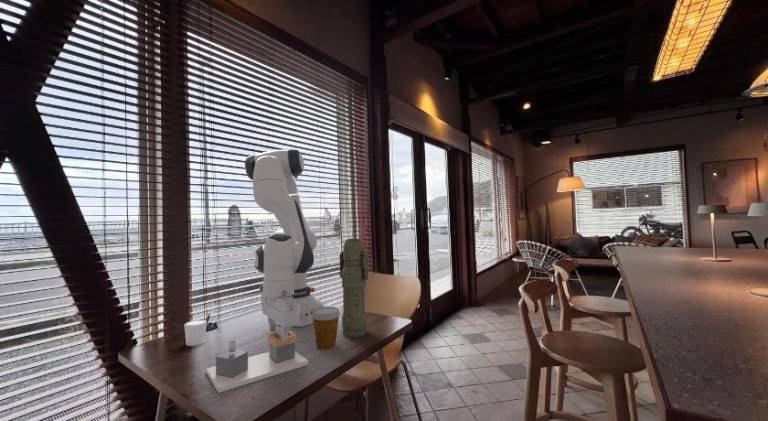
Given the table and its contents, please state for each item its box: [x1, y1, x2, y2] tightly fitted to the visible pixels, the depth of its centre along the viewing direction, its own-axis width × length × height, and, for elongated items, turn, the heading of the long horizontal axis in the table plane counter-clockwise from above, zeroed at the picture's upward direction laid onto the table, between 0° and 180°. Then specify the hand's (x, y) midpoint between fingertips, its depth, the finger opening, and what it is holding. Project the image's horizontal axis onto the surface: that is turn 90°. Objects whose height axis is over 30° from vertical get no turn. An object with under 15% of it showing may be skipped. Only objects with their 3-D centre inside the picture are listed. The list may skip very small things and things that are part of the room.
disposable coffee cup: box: [311, 306, 341, 351], centre depth 110 cm, size 10×10×12 cm
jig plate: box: [205, 328, 309, 394], centre depth 94 cm, size 24×14×10 cm, turn 129°
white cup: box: [183, 319, 207, 347], centre depth 115 cm, size 7×7×7 cm
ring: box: [267, 330, 298, 347], centre depth 99 cm, size 6×6×2 cm
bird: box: [205, 313, 218, 332], centre depth 130 cm, size 8×7×8 cm
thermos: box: [339, 238, 369, 339], centre depth 122 cm, size 9×12×35 cm
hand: (278, 335), depth 98 cm, fingers open, 8 cm apart
